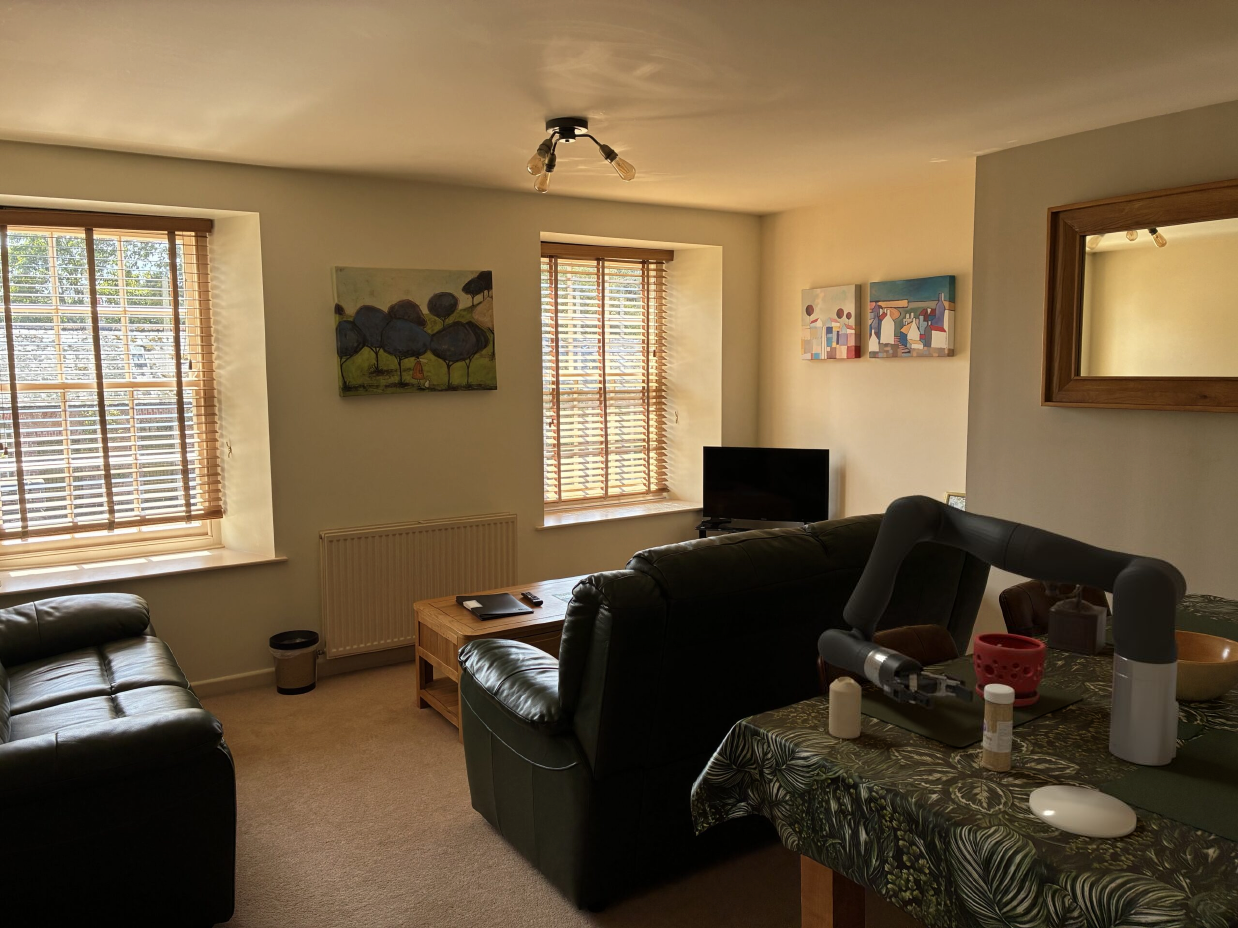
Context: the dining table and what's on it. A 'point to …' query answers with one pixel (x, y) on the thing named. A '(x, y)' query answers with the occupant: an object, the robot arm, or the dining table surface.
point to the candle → (845, 708)
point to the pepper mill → (1075, 623)
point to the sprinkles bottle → (998, 727)
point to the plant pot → (1009, 664)
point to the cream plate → (1082, 811)
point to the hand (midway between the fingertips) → (952, 700)
